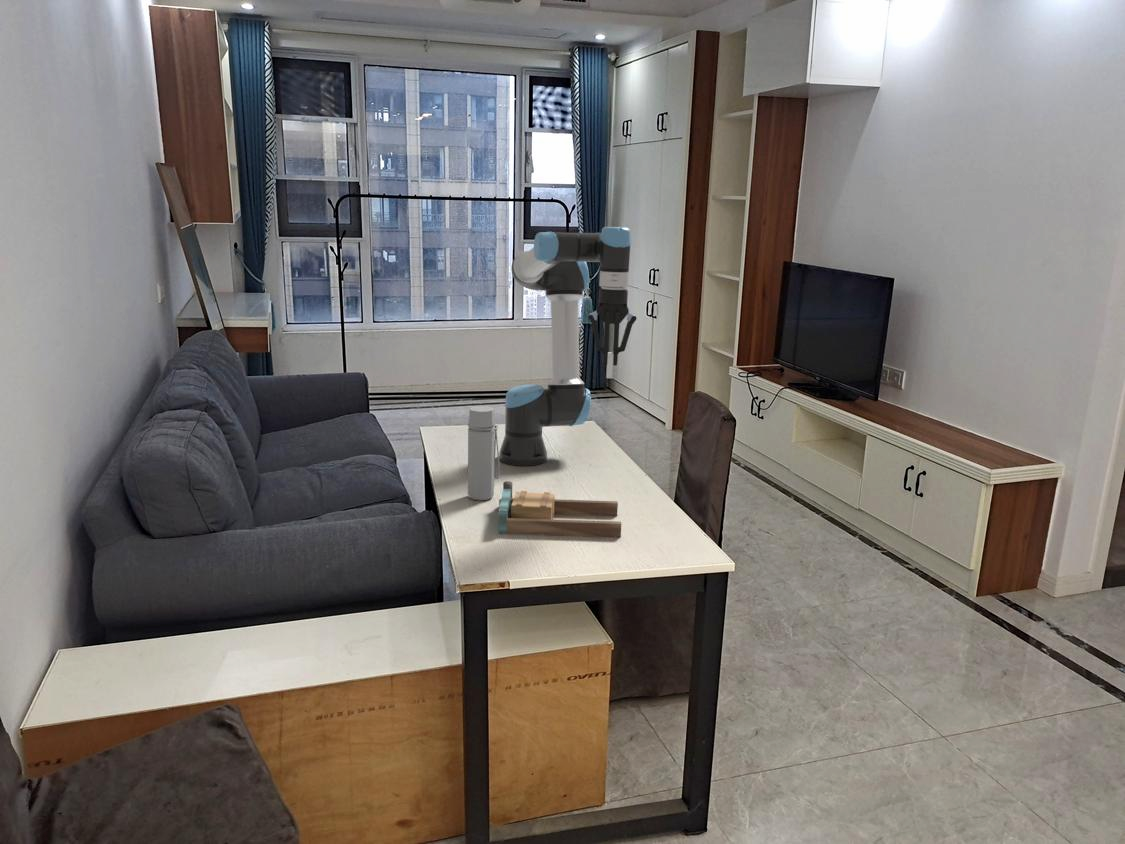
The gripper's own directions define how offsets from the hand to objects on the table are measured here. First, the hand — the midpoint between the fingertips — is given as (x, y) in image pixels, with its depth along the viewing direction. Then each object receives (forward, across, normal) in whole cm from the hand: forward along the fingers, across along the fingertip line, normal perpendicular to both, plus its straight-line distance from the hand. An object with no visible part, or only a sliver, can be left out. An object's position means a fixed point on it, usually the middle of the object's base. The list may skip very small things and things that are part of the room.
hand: (609, 377), depth 221 cm
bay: (+34, -13, -17) cm, 40 cm away
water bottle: (+35, -33, -1) cm, 48 cm away
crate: (+35, -19, -18) cm, 43 cm away
